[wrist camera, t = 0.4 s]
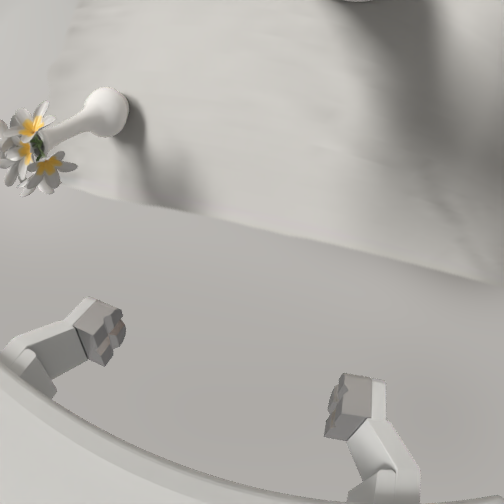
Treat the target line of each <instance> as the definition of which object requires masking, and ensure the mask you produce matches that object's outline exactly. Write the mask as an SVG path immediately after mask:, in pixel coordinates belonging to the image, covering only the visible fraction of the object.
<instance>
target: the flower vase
mask: <svg viewBox="0 0 504 504" xmlns="http://www.w3.org/2000/svg"><path fill="white" fill-rule="evenodd" d="M48 106H49V101H48V100H45V101H43V102H42V103H41V104H39V105H38V107H37V108H36V109H35V111H34V113H33V118H32V115H31V113H30V112H29V111H28V110H26V109H24V108H20V109H18V110H17V111H16V112H15V115H14V116H13V117H12V118H11V121H10V129H8V127H7V125H6V123H5V122H4V121H3V120H0V138H1V139H0V168H3V169H6V168H8V167H9V169H8V170H7V172H6V174H5V177H4V182H5V185H7V186H11V185H13V183H14V182H15V180H16V178H17V176H18V179H19V181H20V183H21V184H19V185H18V186H16V188H22V187H25V188H24V189H23V191H22V192H21V194H20V196H21V197H25V196H28V195H30V194H31V193H32V192H33V191H34V190H35V189H36V186H37V185H38V188H39V190H40V191H41V192H43V193H46V194H53V193H54V188H57V187H58V186H59V184H61V183H62V182H61V181H60V176H59V173H58V171H57V169H58V170H59V171H60V172H70V171H73V170H75V169H76V168H77V165H76V164H74V163H70V162H65V161H61V160H62V159H63V158H64V156H65V153H64V152H63V151H58V152H56V153H55V154H53V155H52V156H50V157H47V154H48V153H49V151H50V150H52V149H53V148H54V147H55V146H57V145H58V144H60V143H61V142H63V141H65V140H67V139H69V138H71V137H74V136H76V135H78V134H81V133H84V132H91V133H92V134H94V135H96V136H99V137H105V138H106V137H111V136H115V135H116V134H118V133H119V132H120V131H121V130H122V129H123V128H124V126H125V123H126V121H127V117H128V115H129V103H128V101H127V99H126V97H125V96H124V95H123V94H121V93H120V92H118V91H117V90H116V89H113V88H110V87H101V88H98V89H96V90H95V91H93V92H92V93H91V94H90V95H89V96H88V98H87V99H86V101H85V103H84V106H83V109H82V110H81V111H80V112H79V113H78V114H76V115H74V116H73V117H71V118H69V119H67V120H65V121H63V122H61V123H59V124H57V125H54V126H52V127H49V128H45V129H42V128H44V127H46V126H48V125H49V124H51V123H53V122H54V121H55V119H56V117H55V116H53V115H49V116H46V117H44V114H45V113H46V111H47V109H48ZM43 117H44V118H43ZM33 154H34V155H35V156H36V157H37V159H36V162H34V156H33ZM42 158H43V159H42ZM39 159H42V160H40V161H39ZM56 168H57V169H56ZM27 170H28V171H30V172H32V173H33V175H32V176H31V177H29V178H28V179H27V178H26V173H27ZM18 174H19V175H18Z"/></svg>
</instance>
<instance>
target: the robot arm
mask: <svg viewBox="0 0 504 504" xmlns="http://www.w3.org/2000/svg"><path fill="white" fill-rule="evenodd" d="M344 1H352V2H364V1H371V0H344ZM122 317H123V314H122V311H121V310H120V309H118V308H116V307H113V306H111V305H109V304H106V303H104V302H102V301H100V300H97V299H95V298H92V297H90V296H88V297H86V298H84V299H83V301H81V302H80V304H78V306H77V307H76V308H75V309H74V310H73V311H72V312H71V313H70V314H69V315H68V316H67V317H66V318H65V319H64V321H61V320H59V321H57V322H54V323H51V324H49V325H46V326H43V327H41V328H38V329H35V330H32V331H29V332H27V333H24V334H22V335H19V336H16V337H14V338H13V339H12V340H11V341H10V342H9V343H8V344H7V345H6V346H5V348H4V349H3V350H2V351H1V352H0V504H420V483H421V482H420V481H421V470H420V468H419V467H418V465H417V463H416V462H415V460H414V459H413V457H412V455H411V454H410V452H409V450H408V449H407V447H406V446H405V444H404V442H403V441H402V439H401V438H400V436H399V434H398V433H397V431H396V430H395V428H394V426H393V425H392V423H391V422H390V421H386V382H385V381H384V380H380V379H374V378H370V377H364V376H358V375H353V374H347V373H343V374H342V375H341V377H340V378H339V385H336V386H335V387H334V389H333V391H332V394H331V397H330V400H329V405H328V412H329V413H330V416H329V418H328V419H327V420H326V426H325V433H324V437H327V438H332V439H338V440H343V441H347V442H346V443H347V445H348V448H349V450H350V452H351V455H352V457H353V459H354V462H355V464H356V466H357V469H358V471H359V473H360V476H361V478H362V481H363V482H362V483H361V484H359V485H358V486H356V487H355V488H353V489H352V490H350V491H349V492H348V497H347V502H337V501H328V500H320V499H313V498H306V497H300V496H294V495H289V494H283V493H278V492H273V491H268V490H264V489H260V488H256V487H251V486H247V485H244V484H239V483H236V482H232V481H229V480H225V479H222V478H219V477H216V476H212V475H209V474H206V473H203V472H200V471H197V470H194V469H191V468H189V467H186V466H183V465H180V464H178V463H175V462H172V461H170V460H167V459H165V458H162V457H160V456H157V455H155V454H153V453H150V452H148V451H146V450H143V449H141V448H139V447H137V446H135V445H132V444H130V443H128V442H126V441H124V440H122V439H120V438H118V437H116V436H114V435H112V434H110V433H108V432H106V431H104V430H102V429H100V428H99V427H97V426H95V425H93V424H91V423H89V422H88V421H86V420H84V419H83V418H81V417H79V416H77V415H76V414H74V413H72V412H71V411H69V410H67V409H66V408H64V407H62V406H61V405H59V404H58V403H56V402H55V401H53V400H52V398H53V396H54V395H55V394H56V392H57V389H56V387H55V385H54V384H53V382H52V381H51V380H52V379H54V378H56V377H57V376H60V375H61V374H63V373H65V372H67V371H69V370H70V369H72V368H74V367H76V366H78V365H80V364H81V363H83V362H85V361H87V360H88V359H89V360H91V361H93V362H96V363H98V364H100V365H102V366H104V367H105V366H106V364H107V363H108V362H109V360H110V359H111V358H112V356H113V349H115V348H117V347H120V345H121V344H122V342H123V340H124V337H125V334H126V327H125V324H124V323H123V321H122V320H121V318H122ZM428 504H504V498H502V497H501V496H499V495H494V496H487V497H482V498H476V499H469V500H462V501H452V502H442V503H428Z"/></svg>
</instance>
